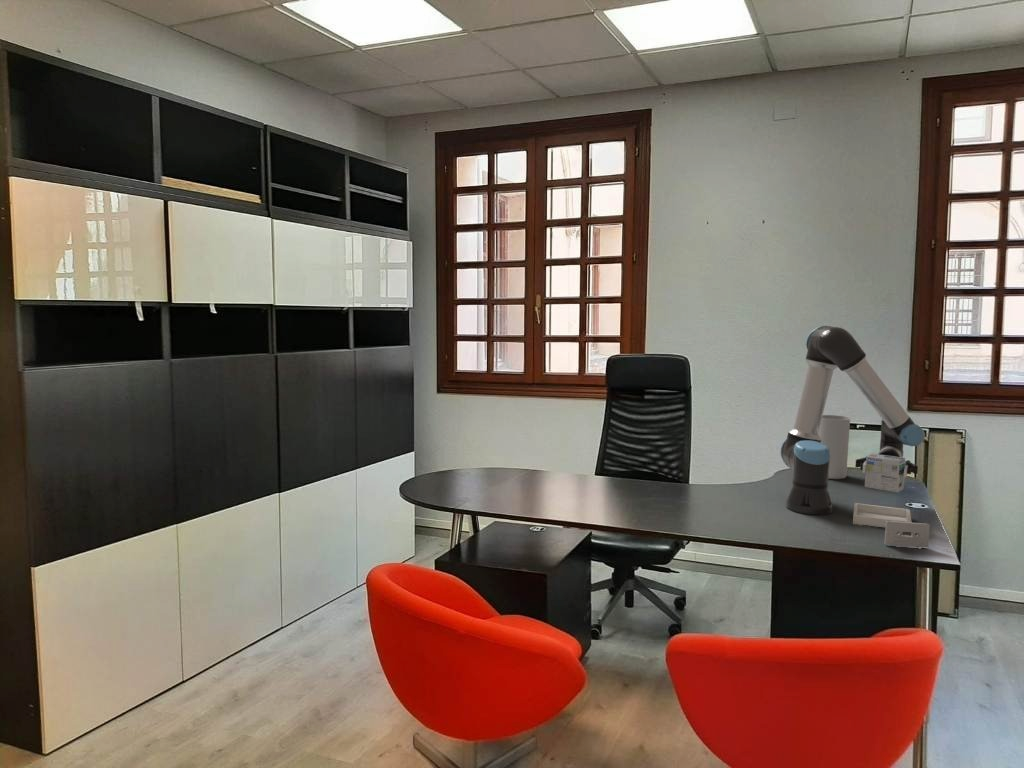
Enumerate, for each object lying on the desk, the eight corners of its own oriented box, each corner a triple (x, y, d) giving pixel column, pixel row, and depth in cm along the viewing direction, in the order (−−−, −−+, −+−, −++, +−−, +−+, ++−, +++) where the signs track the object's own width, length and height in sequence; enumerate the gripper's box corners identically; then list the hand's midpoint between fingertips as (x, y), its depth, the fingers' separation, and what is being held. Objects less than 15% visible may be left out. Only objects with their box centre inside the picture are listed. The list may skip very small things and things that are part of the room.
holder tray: (911, 531, 238) (911, 522, 238) (852, 524, 245) (853, 515, 245) (908, 517, 253) (909, 509, 253) (854, 511, 260) (854, 502, 260)
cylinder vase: (820, 471, 321) (824, 414, 318) (850, 476, 312) (854, 417, 309) (809, 475, 312) (812, 417, 309) (839, 481, 303) (843, 420, 300)
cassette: (926, 548, 223) (928, 523, 222) (928, 550, 221) (930, 525, 220) (883, 544, 225) (885, 520, 225) (885, 546, 224) (886, 521, 223)
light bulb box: (904, 489, 247) (906, 457, 246) (898, 493, 242) (900, 460, 241) (870, 483, 254) (872, 452, 253) (863, 487, 249) (865, 455, 248)
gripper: (926, 473, 257) (924, 487, 238) (851, 465, 269) (844, 477, 250) (928, 452, 256) (926, 464, 238) (852, 444, 268) (845, 455, 250)
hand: (884, 471), depth 244 cm, fingers closed on light bulb box, 11 cm apart
